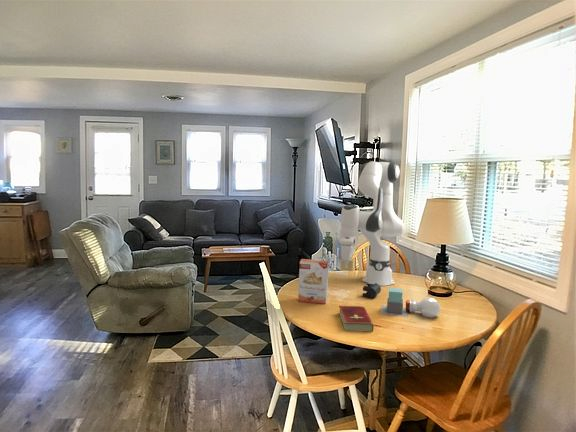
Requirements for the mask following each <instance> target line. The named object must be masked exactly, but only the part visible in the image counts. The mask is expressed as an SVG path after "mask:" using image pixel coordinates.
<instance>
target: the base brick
mask: <svg viewBox="0 0 576 432" xmlns="http://www.w3.org/2000/svg"><path fill="white" fill-rule="evenodd" d="M388 300H389V297H387V301H386V303H387V304H386V306H387V313H396V314H402V311H403V308H404V299H403V298H402V303H395V302H388Z"/></svg>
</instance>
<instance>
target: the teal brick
mask: <svg viewBox="0 0 576 432" xmlns="http://www.w3.org/2000/svg"><path fill="white" fill-rule="evenodd" d="M388 298H389V300H388V299H387V300H388V302H395V303H402V299H403V288H395V287H389V289H388Z"/></svg>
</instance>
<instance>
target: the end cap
mask: <svg viewBox="0 0 576 432" xmlns="http://www.w3.org/2000/svg"><path fill="white" fill-rule="evenodd" d="M362 287H363V288H362V297H366V298H369V299H372V300H374V299H375V298H376V297H377V296H378V295H379V294H380V293H381V291H382V286H380V285H379V284H377V283H375V284H369V283H366V285H364V286H362ZM363 291H364V292H363Z"/></svg>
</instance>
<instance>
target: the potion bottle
mask: <svg viewBox="0 0 576 432" xmlns="http://www.w3.org/2000/svg"><path fill="white" fill-rule="evenodd" d="M405 308H406V311H407V312H408V313H409V312H410V313H417V312H418V313H420V314H421V315H422V317H426V318H431V319H434V318H437V316H438V315H439V314H440V312H441V306H440V303H439V302H438V300H437V299H436V298H433V297H431V296H427V297H424V298H422V299H421V300H420V301H415V300H414V299H413V298H412V299H411V300H409V299H407V300H406V301H405Z"/></svg>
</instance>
